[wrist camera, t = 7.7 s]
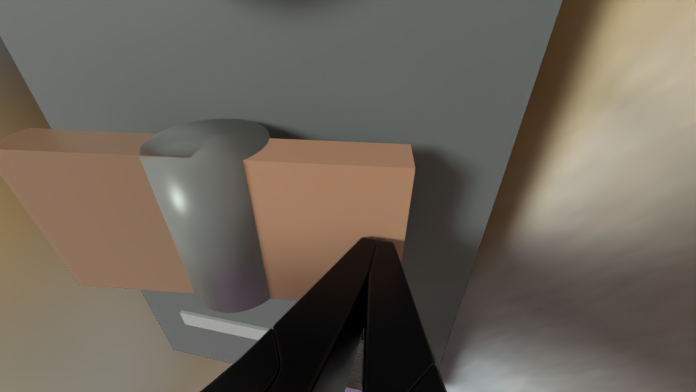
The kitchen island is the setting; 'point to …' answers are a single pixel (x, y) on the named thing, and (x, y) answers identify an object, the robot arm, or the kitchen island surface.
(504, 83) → the panel
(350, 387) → the small grey block
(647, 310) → the kitchen island surface
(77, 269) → the rocker
